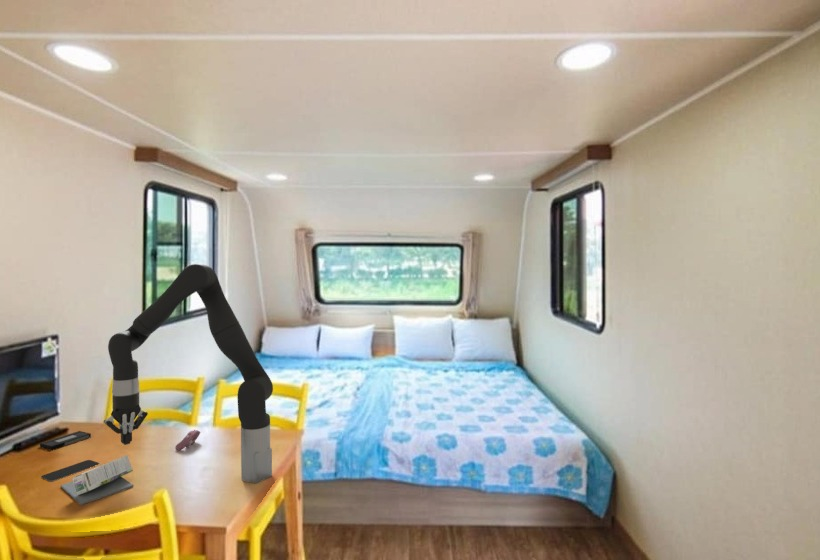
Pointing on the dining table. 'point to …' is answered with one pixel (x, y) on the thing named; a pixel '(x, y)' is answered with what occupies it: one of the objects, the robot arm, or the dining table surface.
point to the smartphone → (69, 470)
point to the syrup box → (102, 475)
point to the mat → (97, 490)
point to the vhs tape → (65, 440)
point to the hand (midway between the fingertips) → (126, 443)
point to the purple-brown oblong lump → (188, 440)
